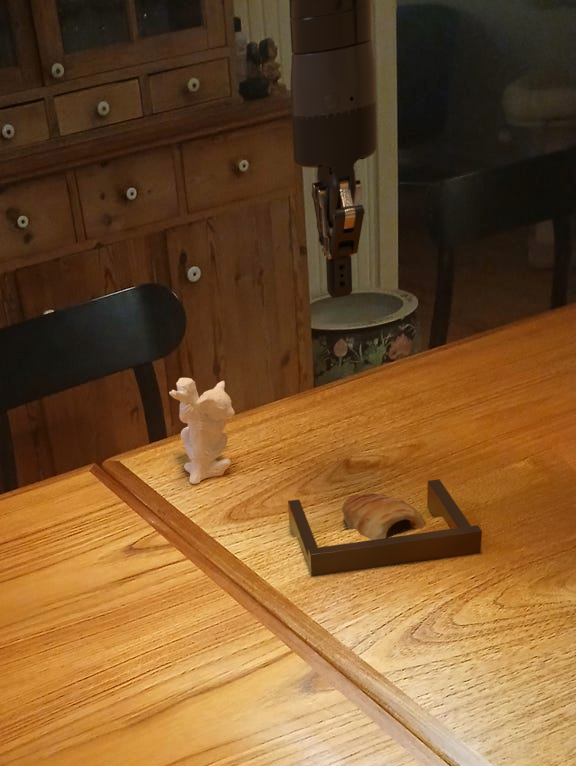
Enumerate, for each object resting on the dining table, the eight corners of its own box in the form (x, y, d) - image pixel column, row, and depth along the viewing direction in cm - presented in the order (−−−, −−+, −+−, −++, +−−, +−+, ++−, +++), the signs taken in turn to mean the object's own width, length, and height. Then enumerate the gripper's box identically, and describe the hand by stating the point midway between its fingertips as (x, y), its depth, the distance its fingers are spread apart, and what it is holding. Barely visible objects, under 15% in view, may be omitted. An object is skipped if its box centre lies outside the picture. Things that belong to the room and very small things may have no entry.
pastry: (325, 520, 103) (324, 487, 101) (383, 503, 104) (383, 470, 102) (372, 559, 95) (372, 524, 93) (434, 540, 96) (435, 505, 94)
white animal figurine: (197, 493, 113) (186, 393, 106) (161, 477, 118) (148, 381, 111) (251, 466, 116) (244, 368, 110) (214, 452, 121) (205, 357, 115)
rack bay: (438, 504, 102) (439, 469, 100) (479, 568, 91) (482, 530, 89) (289, 526, 103) (287, 491, 101) (312, 591, 92) (310, 555, 90)
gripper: (393, 103, 84) (393, 306, 94) (358, 88, 95) (362, 271, 105) (304, 119, 85) (314, 320, 94) (281, 103, 96) (291, 284, 105)
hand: (339, 294), depth 99 cm, fingers closed
